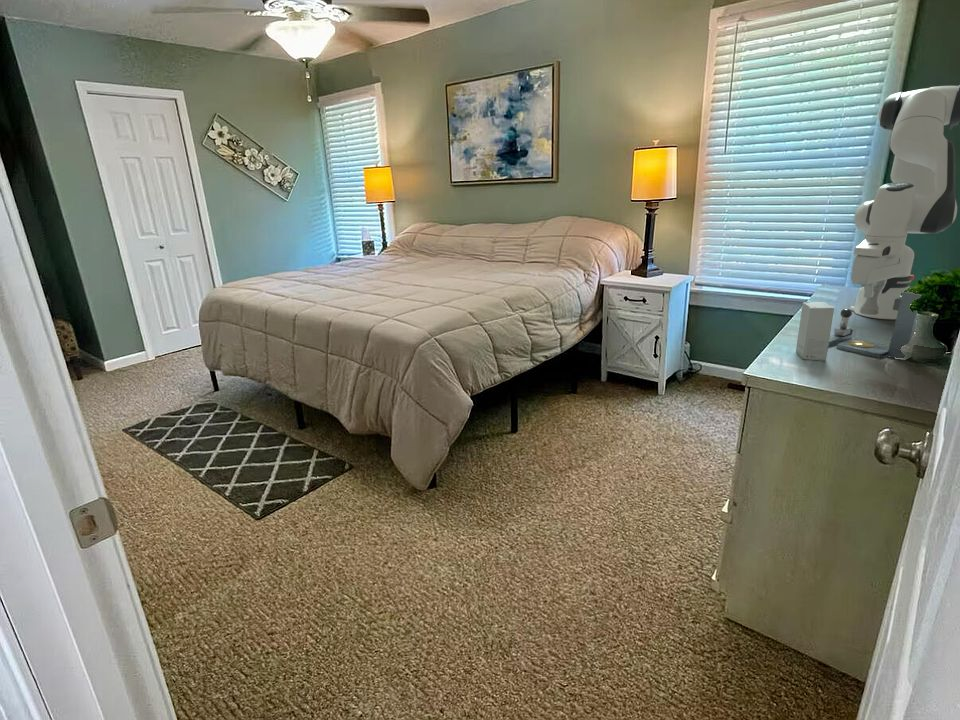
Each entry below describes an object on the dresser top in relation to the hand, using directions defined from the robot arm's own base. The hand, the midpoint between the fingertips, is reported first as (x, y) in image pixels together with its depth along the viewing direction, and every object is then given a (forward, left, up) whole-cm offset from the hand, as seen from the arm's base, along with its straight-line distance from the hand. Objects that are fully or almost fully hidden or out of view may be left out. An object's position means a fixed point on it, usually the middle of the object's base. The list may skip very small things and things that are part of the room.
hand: (872, 296), depth 142 cm
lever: (-4, -8, -14) cm, 16 cm away
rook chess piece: (0, 0, -5) cm, 5 cm away
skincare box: (+17, -5, -16) cm, 24 cm away
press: (0, +1, -15) cm, 15 cm away
